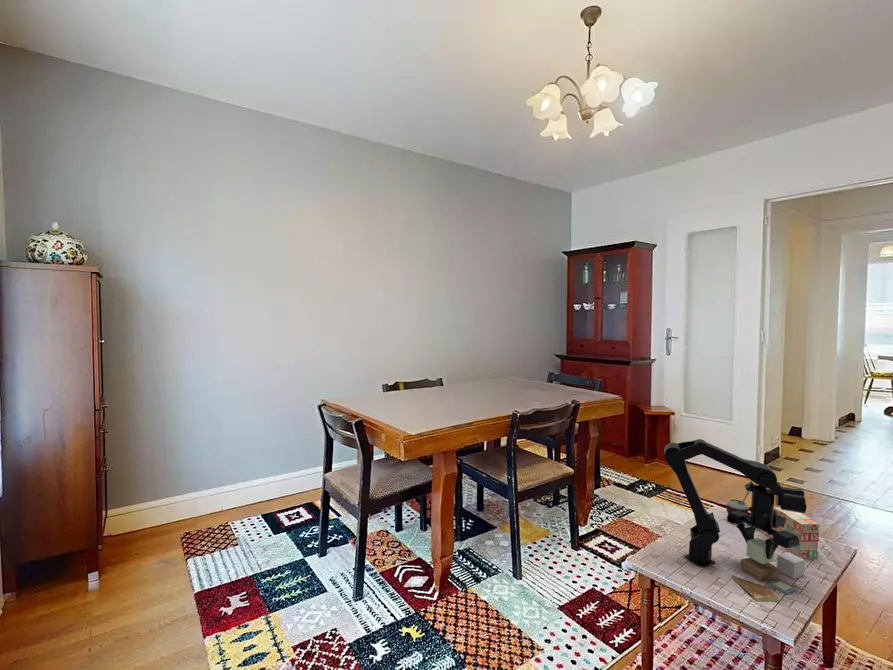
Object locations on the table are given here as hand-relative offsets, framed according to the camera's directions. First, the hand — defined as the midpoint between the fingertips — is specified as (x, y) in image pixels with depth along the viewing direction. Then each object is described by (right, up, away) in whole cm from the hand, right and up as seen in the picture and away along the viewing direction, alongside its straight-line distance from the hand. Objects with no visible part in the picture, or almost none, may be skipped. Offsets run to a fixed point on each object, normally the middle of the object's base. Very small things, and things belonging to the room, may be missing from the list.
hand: (759, 554), depth 139 cm
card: (+2, -7, -7) cm, 10 cm away
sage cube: (0, -1, 0) cm, 1 cm away
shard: (-8, -7, -9) cm, 14 cm away
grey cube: (+10, -6, +1) cm, 12 cm away
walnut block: (0, -7, 0) cm, 6 cm away
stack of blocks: (+22, -6, +20) cm, 30 cm away
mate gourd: (+16, -5, +34) cm, 38 cm away
